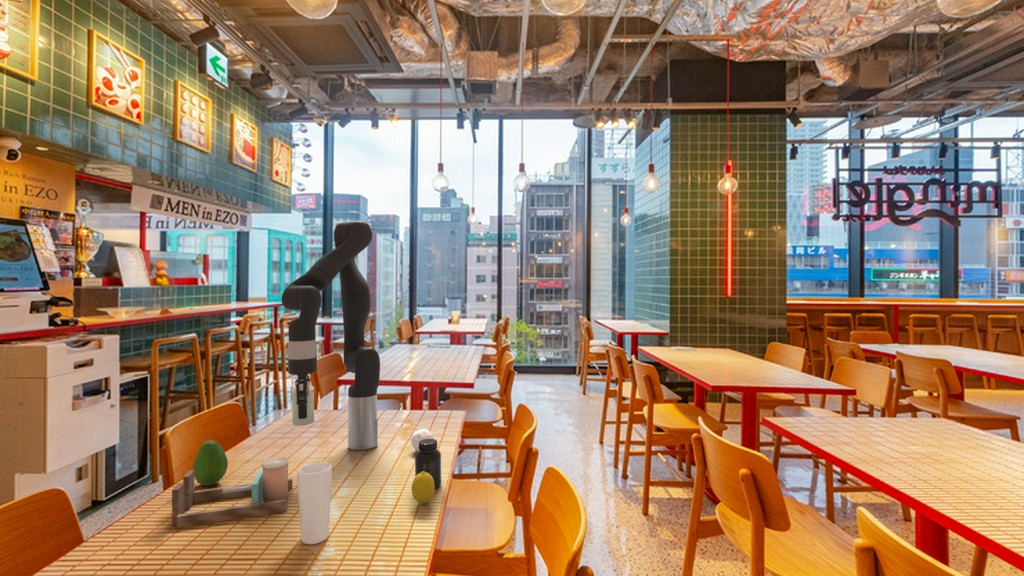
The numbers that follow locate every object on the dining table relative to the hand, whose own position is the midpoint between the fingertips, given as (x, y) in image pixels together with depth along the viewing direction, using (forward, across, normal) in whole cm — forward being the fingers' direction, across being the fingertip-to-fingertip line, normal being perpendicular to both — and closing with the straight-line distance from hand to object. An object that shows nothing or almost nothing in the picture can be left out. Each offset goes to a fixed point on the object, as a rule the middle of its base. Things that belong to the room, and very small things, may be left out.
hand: (303, 415), depth 133 cm
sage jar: (+2, 0, 0) cm, 2 cm away
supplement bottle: (+17, -20, -32) cm, 41 cm away
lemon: (+17, -30, -28) cm, 45 cm away
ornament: (+18, +8, -35) cm, 40 cm away
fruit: (+17, +2, +23) cm, 29 cm away
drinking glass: (+17, -38, -4) cm, 42 cm away
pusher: (+17, -15, +14) cm, 26 cm away
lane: (+17, -15, +14) cm, 26 cm away
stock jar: (+17, -15, +6) cm, 23 cm away
